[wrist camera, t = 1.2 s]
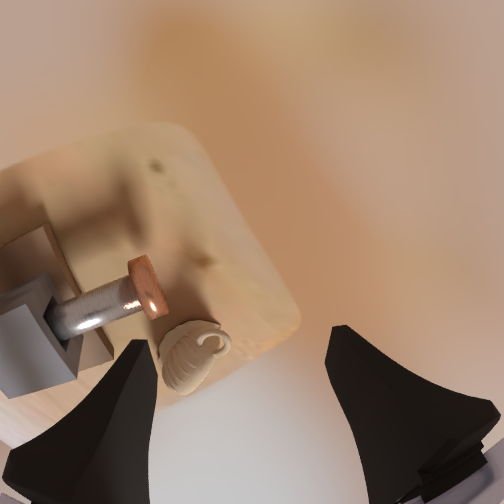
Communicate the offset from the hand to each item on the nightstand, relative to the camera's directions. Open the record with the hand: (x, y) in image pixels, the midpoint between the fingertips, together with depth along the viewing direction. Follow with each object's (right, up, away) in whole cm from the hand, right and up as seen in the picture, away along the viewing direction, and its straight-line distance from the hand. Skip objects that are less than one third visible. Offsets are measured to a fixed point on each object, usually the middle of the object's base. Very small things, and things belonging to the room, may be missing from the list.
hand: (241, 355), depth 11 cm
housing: (-18, -1, +7) cm, 19 cm away
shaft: (-11, +1, +7) cm, 13 cm away
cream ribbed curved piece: (-5, -4, +14) cm, 15 cm away
